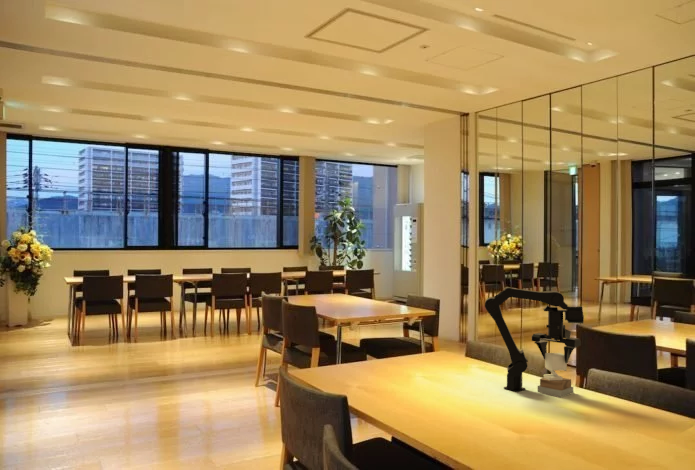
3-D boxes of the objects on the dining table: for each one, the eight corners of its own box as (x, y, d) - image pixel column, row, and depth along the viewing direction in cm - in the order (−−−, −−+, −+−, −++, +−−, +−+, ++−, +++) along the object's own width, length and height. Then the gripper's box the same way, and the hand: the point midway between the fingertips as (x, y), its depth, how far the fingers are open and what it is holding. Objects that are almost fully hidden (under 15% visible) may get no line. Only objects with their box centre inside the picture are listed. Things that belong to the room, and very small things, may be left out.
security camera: (566, 380, 228) (567, 355, 228) (550, 380, 227) (550, 355, 227) (559, 377, 234) (559, 352, 234) (542, 377, 233) (543, 352, 233)
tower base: (560, 398, 223) (560, 391, 223) (537, 393, 231) (537, 386, 231) (573, 394, 230) (573, 387, 230) (550, 389, 237) (550, 382, 237)
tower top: (562, 390, 224) (562, 382, 224) (540, 386, 230) (540, 379, 230) (571, 386, 230) (571, 379, 230) (549, 382, 236) (549, 375, 237)
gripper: (587, 323, 229) (587, 362, 229) (545, 318, 243) (545, 355, 243) (573, 325, 222) (573, 366, 221) (530, 320, 236) (530, 358, 236)
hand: (555, 361), depth 231 cm, fingers open, 9 cm apart
